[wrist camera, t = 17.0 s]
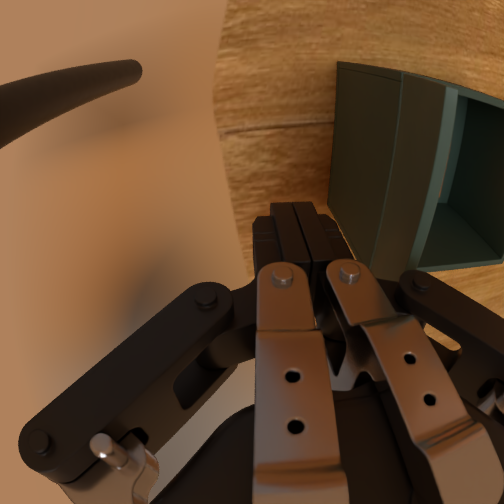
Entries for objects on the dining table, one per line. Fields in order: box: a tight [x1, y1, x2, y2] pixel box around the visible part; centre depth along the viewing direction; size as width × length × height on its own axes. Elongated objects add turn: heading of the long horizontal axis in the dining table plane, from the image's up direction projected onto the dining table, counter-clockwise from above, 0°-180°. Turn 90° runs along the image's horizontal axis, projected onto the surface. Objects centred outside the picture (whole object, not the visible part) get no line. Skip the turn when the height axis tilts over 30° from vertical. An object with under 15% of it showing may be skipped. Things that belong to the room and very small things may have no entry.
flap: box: [370, 73, 459, 282], centre depth 11 cm, size 6×12×1 cm
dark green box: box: [327, 61, 504, 272], centre depth 19 cm, size 13×12×10 cm
